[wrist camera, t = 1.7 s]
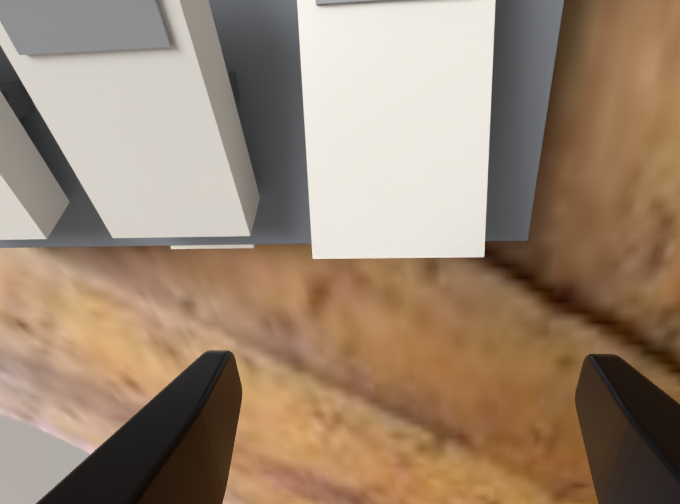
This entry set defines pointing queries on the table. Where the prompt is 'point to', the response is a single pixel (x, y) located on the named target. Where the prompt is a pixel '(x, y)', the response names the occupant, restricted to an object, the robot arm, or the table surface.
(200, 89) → the block
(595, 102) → the table surface
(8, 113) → the rocker
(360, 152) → the rocker
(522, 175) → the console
